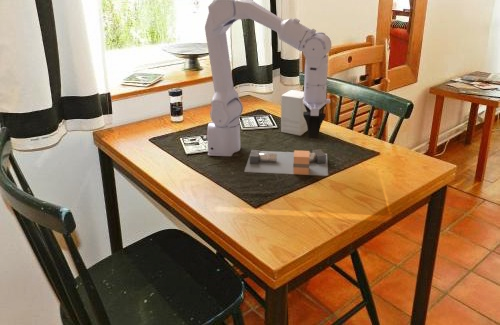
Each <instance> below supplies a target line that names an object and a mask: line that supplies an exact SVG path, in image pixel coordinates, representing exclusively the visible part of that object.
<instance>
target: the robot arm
mask: <svg viewBox="0 0 500 325" xmlns="http://www.w3.org/2000/svg"><path fill="white" fill-rule="evenodd" d="M207 8H208V15H207V18H206V21H205V26H204V32H205V38H206V45H207V50H208V51H207V52H208V56H209V58H208V59H209V64H210V69H211V76H212V83H213V89H214V92H213V93H214V94H213V95H212V98H211V101H210V104H211V105H210V106H211V109H210V112H209V116H210V120H211V121H212V122H208V124H207V130H206V131H207V132H206V137H207V138H206V141H207V156H210V157H211V156H213V157H233V155H234V153H237V152H239V151H240V150H241V125H240V124H241V123H240V122H241V121H240V116H242V114H243V112H244V106H243V103H242V101H241V100H240V99H241V98H240V96H239V93H238V91H237V90H236V89H235V88H234V82H233V74H232V67H231V60H230V59H231V58H230V54H229V46H228V38H227V31H228V30H229V29H230V27H231V26H233V25H234V24H233V23H235V22H237V21H239V20H245V19H246V20H247V19H248V20H249V19H250V20H252V21H254V22H255V23H258V24H260V25H262V26H264V27H266V28H267V29H270V30H272V31H274V32H276V33H277V36H278V39H279V40H280V41H282V42H283V43H285V44H287V45H289V46H290V47H292V48H294V49H296V50H298V51H299V52H302V55H303V56H304V58H305V60H304V61H305V63H304V79H303V80H304V84H303V92H304V99H303V103H304V106H305V108H306V111H307V112H303V116H304V118H305V120H306V123H307V128H308V130H307V135H308V138H309V139H313V140H315V139H318V137H319V134H320V131H321V126H322V124H323V122H324V120H325V118H326V113H323V112H322V110H323V108H324V106H326V104H331V99H330V98H327V88H328V87H327V86H328V70H329V68H328V67H329V64H328V62H329V55H328V54H329V53H330V51H331V48H332V40H331V38H330V37H329V36H328V35H327V34H326V32H317V30H316V29H314V28H312V29H310V28H309V27H307V26H305V25H303V24H302V23H300V19H298V18H287V19H285V20H284V19H282V18H281V17H280V16H278V15H276V14H274V13H273V12H271V11H270V10H268V9H267V8H265V7H263V6H262V5H260V4H258V3H257V2H256V1H254V0H213V1H212V2H210V4H209V5H208V6H207Z"/></svg>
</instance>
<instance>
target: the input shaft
mask: <svg viewBox="0 0 500 325" xmlns="http://www.w3.org/2000/svg"><path fill="white" fill-rule="evenodd" d="M260 151H261V150H260V149H251V150H250V153H249V156H250V164H259V162H277V154H274V153H260Z"/></svg>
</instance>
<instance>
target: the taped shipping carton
mask: <svg viewBox="0 0 500 325" xmlns="http://www.w3.org/2000/svg"><path fill="white" fill-rule="evenodd" d="M293 152H294V162H293V174H292V175H300V174H304V176H310V175H309V159H310V158H309V155H310V153H311V152H310V150H296V149H295V150H293Z"/></svg>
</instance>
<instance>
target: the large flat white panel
mask: <svg viewBox="0 0 500 325" xmlns="http://www.w3.org/2000/svg"><path fill="white" fill-rule="evenodd" d="M260 153H274V154H277V162H259V164H250V155H249V157H248V160H247V162H246V164H245V168H244V170H243V171H244V173H259V174H260V173H261V174H277V175H279V174H281V175H294V174H293V162H294V151H271V150H270V151H268V150H260ZM325 155H326V163H324V164H317V163H316V162H315V161H314V162H309V175H308V176H323V177H324V176H325V177H326V176H329V168H328V166H329V164H328V153H325ZM299 175H304V174H299ZM304 176H305V175H304Z"/></svg>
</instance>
